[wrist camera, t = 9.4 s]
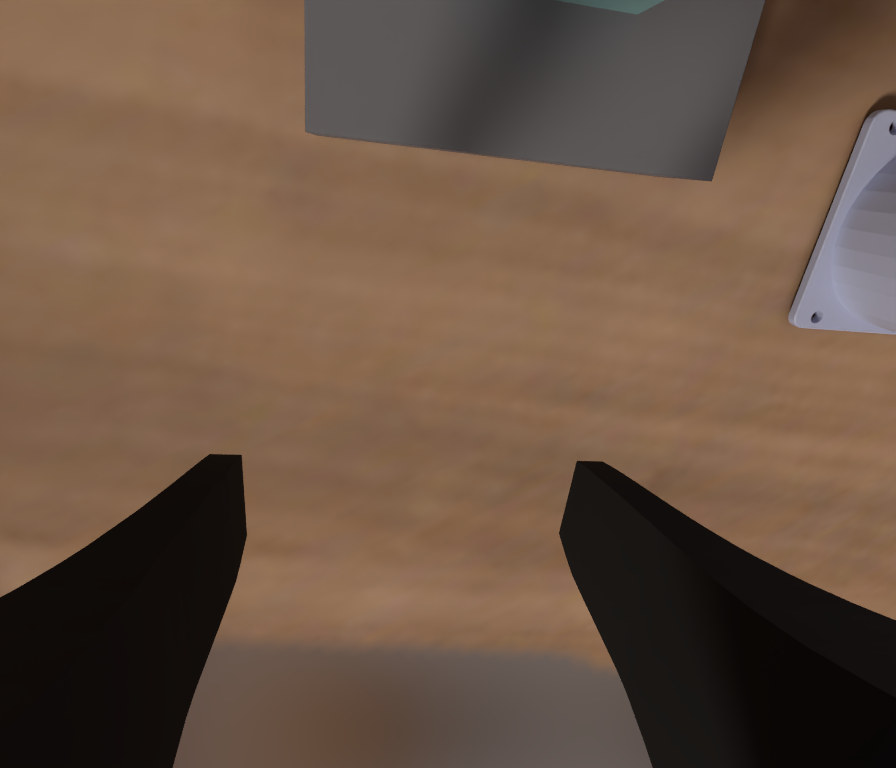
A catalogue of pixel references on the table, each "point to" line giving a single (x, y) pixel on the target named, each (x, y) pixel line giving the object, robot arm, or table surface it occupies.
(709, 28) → the plinth
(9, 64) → the table surface
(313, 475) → the table surface
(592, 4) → the teal block
